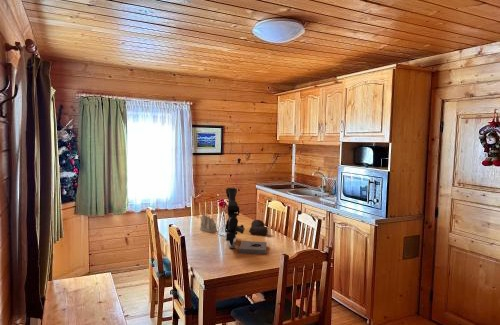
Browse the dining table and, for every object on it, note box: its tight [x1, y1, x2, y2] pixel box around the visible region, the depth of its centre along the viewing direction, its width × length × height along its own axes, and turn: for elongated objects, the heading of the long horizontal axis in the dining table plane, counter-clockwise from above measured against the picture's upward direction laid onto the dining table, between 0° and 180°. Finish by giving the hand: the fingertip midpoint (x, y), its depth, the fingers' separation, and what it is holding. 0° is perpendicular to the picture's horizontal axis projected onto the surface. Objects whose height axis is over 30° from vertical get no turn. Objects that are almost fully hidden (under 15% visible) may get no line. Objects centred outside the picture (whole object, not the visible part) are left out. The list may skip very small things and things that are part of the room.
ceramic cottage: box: [199, 212, 218, 233], centre depth 292 cm, size 16×16×15 cm
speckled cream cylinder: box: [228, 236, 237, 249], centre depth 245 cm, size 5×5×8 cm
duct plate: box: [238, 240, 268, 255], centre depth 243 cm, size 18×18×3 cm
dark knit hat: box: [248, 219, 269, 236], centre depth 285 cm, size 10×15×15 cm
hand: (232, 244), depth 245 cm, fingers closed on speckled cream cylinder, 5 cm apart
